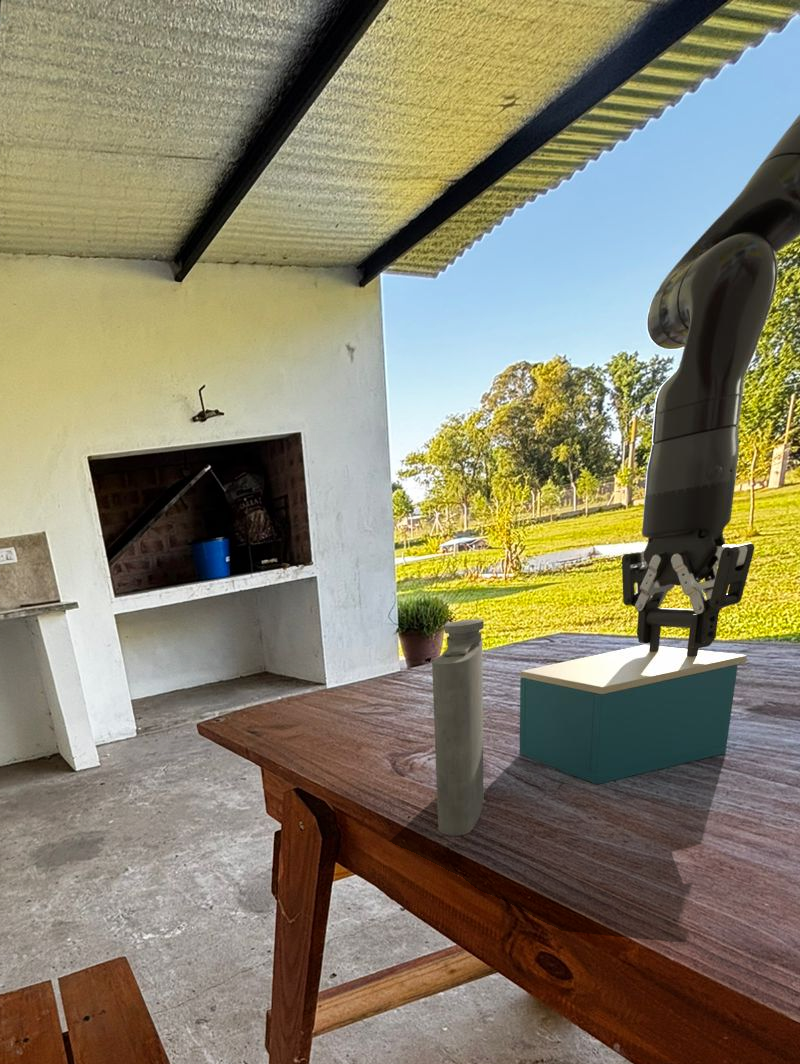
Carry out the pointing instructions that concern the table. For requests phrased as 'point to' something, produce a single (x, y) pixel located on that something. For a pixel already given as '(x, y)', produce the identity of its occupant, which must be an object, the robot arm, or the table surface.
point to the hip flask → (459, 728)
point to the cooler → (627, 725)
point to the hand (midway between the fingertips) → (672, 644)
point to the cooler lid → (636, 661)
